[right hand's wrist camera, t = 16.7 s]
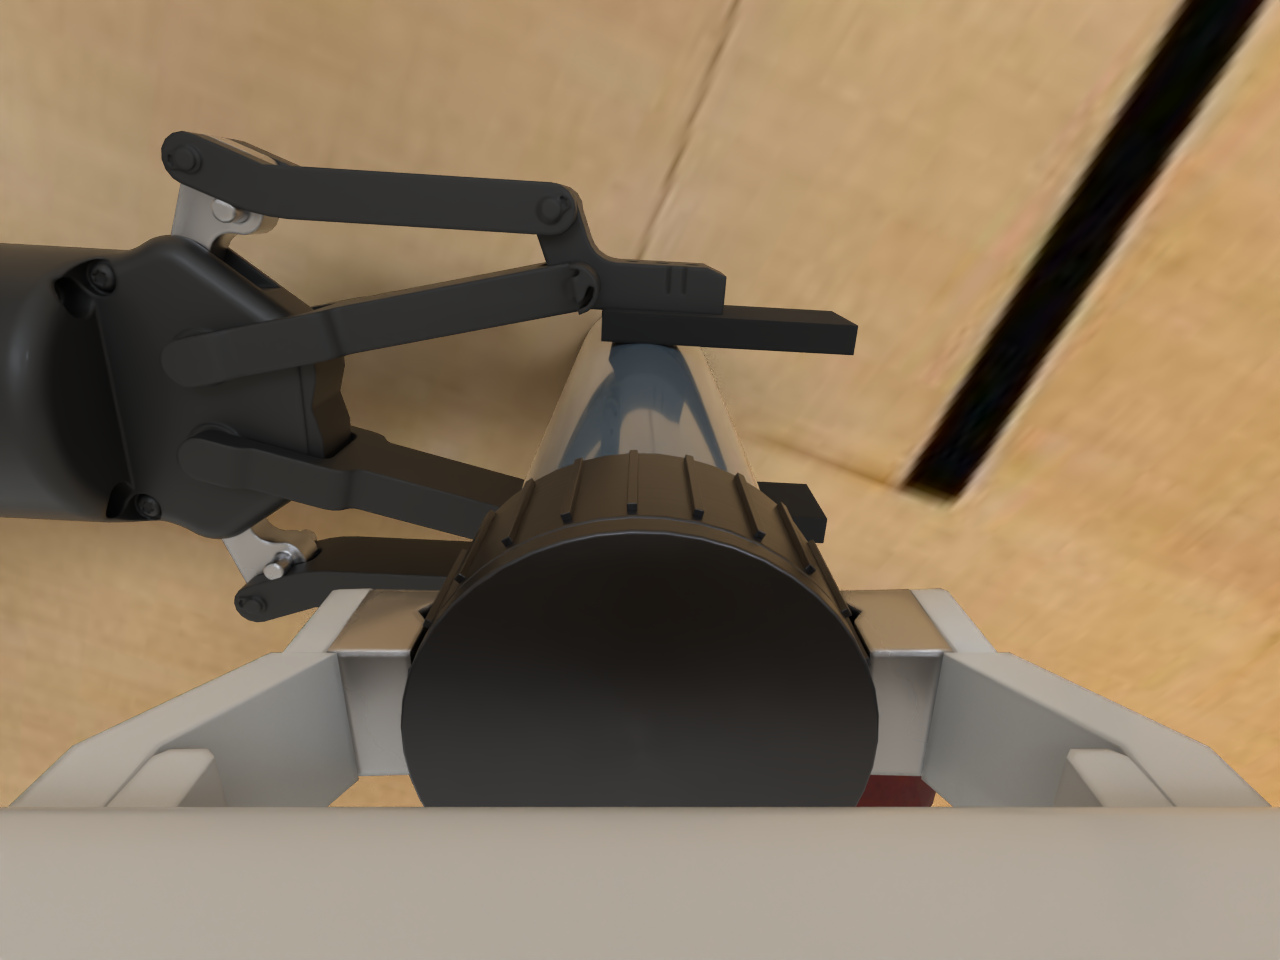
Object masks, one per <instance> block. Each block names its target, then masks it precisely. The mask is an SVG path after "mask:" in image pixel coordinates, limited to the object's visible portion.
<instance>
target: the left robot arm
mask: <svg viewBox="0 0 1280 960" xmlns="http://www.w3.org/2000/svg"><path fill="white" fill-rule="evenodd" d="M161 152H162V161H163V164H164V166H165V169H166V170H167V171H168V173H169V174H170V175H171V176H172V178H173V179H175V180H177V181H178V182H180V183H181V185H180V190H179V195H178V200H177V206H176V211H175V216H174V221H173V227H172V232H171V235H164V236H159V237H155V238H153V239H150V240H148V241H147V242H145V243H144V244H142V245H140V246H139V247H137V248H134V249H132V250H112V249H94V248H77V247H59V246H41V245H24V244H6V243H0V517H10V518H30V519H50V520H71V521H91V522H135V521H152V520H161V521H167V522H171V523H174V524H177V525H180V526H182V527H185V528H187V529H189V530H191V531H193V532H194V533H196V534H198V535H201V536H204V537H207V538H212V539H222V540H223V542H224V544H225V546H226V548H227V549H228V551H229V553H230V555H231V556H232V558H233V560H234V562H235V563H236V565H237V567H238V569H239V570H240V572H241V574H242V576H243V578H244V579H245V581H246V583H247V584H246V585H244V586H243V587H242V588H241V589H240V590H239V591H238V593H237V594H236V596H235V601H234V604H235V607H236V610H237V611H238V612H239V613H240V614H241V616H243V617H244V618H246V619H248V620H250V621H254V622H264V621H268V620H271V619H275V618H278V617H282V616H286V615H289V614H293V613H296V612H300V611H303V610H307V609H310V608H314V607H320V605H321V604H322V603H323V602H324V601H325V599H326V598H327V597H328V596H329V594H330V593H331V592H332V591H333V590H339V589H369V588H371V589H373V590H375V589H389V590H441V588H442V586H443V584H444V582H445V580H446V578H447V576H448V574H449V572H450V570H451V569H452V567H453V565H454V563H455V561H456V559H457V557H458V555H459V553H460V551H461V549H464V550H467V551H468V549H469V548H470V546H471V544H472V542H467V541H445V540H423V539H402V538H380V537H358V536H357V537H336V538H328V539H324V540H319V541H317V537H316V535H315V534H314V532H312V531H310V530H302V531H298V530H289V531H285V530H281V529H278V528H276V527H274V526H273V525H272V524H271V523H269V521H268V520H267V518H266V517H268V516H269V515H271V514H272V513H274V512H275V511H277V510H278V509H280V508H281V507H283V506H284V505H286V504H287V503H289V502H290V501H291V500H292V501H296V502H299V503H303V504H307V505H311V506H315V507H318V508H322V509H327V510H344V509H349V508H355V509H360V510H364V511H368V512H371V513H375V514H379V515H383V516H386V517H390V518H394V519H398V520H402V521H405V522H409V523H413V524H417V525H421V526H424V527H428V528H432V529H436V530H439V531H443V532H447V533H451V534H455V535H458V536H462V537H466V538H470V539H473V540H474V538H475V536H476V534H477V532H478V530H479V528H480V526H481V524H482V522H483V520H484V518H485V516H486V514H487V513H488V512H489V511H490V510H493V511H494V512H496V511H497V510H498V509H499V508H500V507H501V506H502V505H503V504H504V503H505V502H507V501H508V500H509V499H510V498H511V497H512V496H513V495H515V494H516V493H518V492H519V491H520V490H521V488H522V485H523V483H524V481H525V480H523V479H519V478H516V477H512V476H509V475H505V474H501V473H498V472H494V471H490V470H487V469H483V468H479V467H476V466H472V465H469V464H465V463H461V462H458V461H454V460H450V459H447V458H443V457H439V456H436V455H432V454H429V453H425V452H421V451H418V450H414V449H410V448H407V447H403V446H399V445H396V444H392V443H390V442H388V441H387V440H386V439H385V437H384V436H382V435H380V434H378V433H375V432H372V431H368V430H364V429H361V428H357V427H354V426H350V417H349V414H348V412H347V409H346V406H345V403H344V401H343V398H342V395H341V392H340V388H341V383H342V377H343V372H344V367H345V362H344V356H345V355H349V354H353V353H358V352H364V351H369V350H374V349H380V348H385V347H390V346H396V345H401V344H406V343H412V342H417V341H422V340H428V339H433V338H438V337H444V336H449V335H454V334H460V333H465V332H470V331H476V330H481V329H486V328H492V327H497V326H502V325H507V324H513V323H518V322H523V321H529V320H534V319H539V318H545V317H550V316H555V315H561V314H566V313H571V312H577V311H578V312H579V315H580V314H582V313H585V312H587V311H589V310H590V309H599V310H602V329H601V341H603V342H622V343H640V344H658V345H676V346H695V347H713V348H731V349H750V350H768V351H786V352H805V353H823V354H841V355H854V348H855V342H856V336H857V330H858V325H856V324H854V323H852V322H850V321H849V320H847V319H845V318H843V317H841V316H839V315H838V314H836V313H834V312H832V311H819V310H801V309H783V308H765V307H747V306H729V305H724V297H725V286H726V276H725V275H723V274H722V273H721V272H719V271H717V270H715V269H713V268H711V267H709V266H707V265H705V264H702V263H682V262H666V261H649V260H631V259H617V258H612V257H609V256H607V255H605V254H604V253H603V252H601V251H600V250H599V249H598V248H597V246H596V245H595V243H594V241H593V239H592V237H591V233H590V230H589V227H588V224H587V220H586V217H585V214H584V211H583V205H582V200H581V199H580V197H579V195H578V193H577V192H575V191H574V190H573V189H572V188H570V187H567V186H564V185H560V184H557V183H552V182H537V181H521V180H505V179H489V178H473V177H458V176H442V175H426V174H410V173H394V172H379V171H363V170H347V169H331V168H315V167H301V166H298V165H296V164H294V163H292V162H289V161H287V160H285V159H282V158H280V157H278V156H276V155H273V154H271V153H269V152H267V151H264V150H262V149H260V148H257V147H255V146H253V145H251V144H248V143H246V142H243V141H239V140H234V139H228V138H222V137H217V136H210V135H204V134H197V133H191V132H185V131H180V132H175V133H172V134H171V135H169V136H168V137H167V138H166V139H165V141H164V143H163V145H162V148H161ZM279 218H284V219H296V220H312V221H328V222H344V223H361V224H377V225H393V226H409V227H425V228H442V229H458V230H474V231H490V232H506V233H523V234H537V236H538V239H539V242H540V245H541V248H542V251H543V254H544V257H545V260H546V262H545V263H540V264H534V265H529V266H524V267H519V268H514V269H508V270H503V271H498V272H493V273H488V274H482V275H477V276H472V277H467V278H462V279H457V280H451V281H446V282H441V283H436V284H431V285H425V286H420V287H415V288H410V289H405V290H399V291H394V292H389V293H384V294H379V295H374V296H368V297H359V298H354V299H348V300H343V301H338V302H333V303H328V304H322V305H317V306H312V307H309V306H308V305H307V304H305V303H304V302H302V301H301V300H300V299H298V298H297V297H296V296H294V295H293V294H292V293H290V292H289V291H287V290H286V289H285V288H283V287H282V286H281V285H279V284H278V283H277V282H275V281H274V280H272V279H271V278H270V277H268V276H267V275H266V274H264V273H263V272H262V271H260V270H259V269H257V268H256V267H255V266H253V265H252V264H251V263H249V262H248V261H246V260H245V259H244V258H242V257H241V256H240V255H238V254H237V253H236V252H234V251H233V250H231V249H230V248H229V247H228V246H229V244H230V241H231V240H232V239H233V238H234V236H236V235H238V234H240V235H250V234H262V233H267V232H269V231H271V230H272V229H273V228H274V227H275V226H276V224H277V222H278V219H279ZM757 483H758V486H759V488H760V491H761V492H763V493H764V494H765V495H766V496H767V497H769V498H770V499H771V500H772V501H774V502H775V503H776V504H777V505H778V504H779V503H780V502H782V503H783V504H784V505H785V506H786V507H787V509H788V511H789V513H790V516H791V518H792V520H793V522H794V523H795V524H796V526H797V527H798V529H799V530H800V531H801V533H802V534H803V536H804V537H805V539H806V540H807V542H809V541H811V540H814V542H815V543H823V542H824V536H825V529H826V523H827V518H826V516H825V515H824V513H823V511H822V509H821V508H820V506H819V504H818V503H817V501H816V499H815V498H814V496H813V494H812V493H811V491H810V489H809V488H808V486H807V484H793V483H773V482H757Z"/></svg>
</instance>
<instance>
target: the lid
mask: <svg viewBox="0 0 1280 960" xmlns="http://www.w3.org/2000/svg"><path fill="white" fill-rule="evenodd" d="M851 615H852V614H851V612H850V610H849V608H848V606H847V604H846V602H845V600H844V598H843V596H842V594H841V592H840V590H839V588H838V586H837V584H836V582H835V580H834V579H833V577H832V575H831V573H830V571H829V569H828V567H827V565H826V563H825V561H824V559H823V557H822V555H821V553H820V551H819V549H818V547H817V545H816V544H815V542H814V540H811V541H809V542H807V540H806V539H805V537H804V536H803V534H802V533H801V531H800V530H799V529H798V527H797V526H796V524H795V523H794V522H793V520H792V518H791V516H790V513H789V511H788V509H787V507H786V506H785V505H784V504H783V503H782V502H780V503H779V504H778V505H777V504H776V503H775V502H774V501H772V500H771V499H770V498H769V497H767V496H766V495H765V494H764V493H763V492H761V491H760V490H759V489H757V488H756V487H754V486H752V485H751V484H749V483H747V482H746V479H745V477H744V475H742V474H740V473H737V474H736V475H733V474H731V473H729V472H726V471H724V470H722V469H719V468H717V467H715V466H712V465H709V464H706V463H702V462H699V461H695V460H694V457H693V456H690V455H685V458H683V457H677V456H671V455H664V454H648V453H638V450H630V451H629V453H628V454H617V455H607V456H602V457H598V458H593V459H588V460H583V458H578V459H575V461H574V464H571V465H569V466H566V467H563V468H560V469H557V470H555V471H553V472H551V473H549V474H547V475H545V476H543V477H541V478H539V479H537V480H535V481H534V480H533V478H531V479H529V480H527V481H526V482H525V484H524V487H523V489H522V490H520V491H519V492H518V493H516V494H515V495H513V496H512V497H511V498H510V499H509V500H508V501H507V502H505V503H504V504H503V505H502V506H501V507H500V508H499V509H498V510H497V511H496V512H494V511H493V510H490V511H489V512H488V513H487V514H486V516H485V518H484V520H483V522H482V524H481V526H480V528H479V530H478V532H477V534H476V536H475V538H474V540H473V542H472V544H471V546H470V548H469V549H468V551H467V550H464V549H461V551H460V553H459V555H458V557H457V559H456V561H455V563H454V565H453V567H452V569H451V570H450V572H449V574H448V576H447V578H446V580H445V582H444V584H443V586H442V588H441V590H440V592H439V593H438V595H437V597H436V599H435V601H434V603H433V605H432V607H431V609H430V611H429V613H428V615H427V616H426V618H425V620H424V622H423V624H422V626H424V627H426V628H429V629H428V631H427V633H426V635H425V637H424V639H423V641H422V642H421V644H420V646H419V648H418V651H417V653H416V656H415V658H414V661H413V663H412V665H411V668H409V669H408V675H407V681H406V685H405V689H404V694H403V698H402V709H401V735H402V745H403V753H404V757H405V761H406V764H407V768H408V772H409V776H410V778H411V781H412V783H413V785H414V788H415V790H416V792H417V794H418V797H419V799H420V801H421V802H422V804H423V806H424V807H856V806H857V804H858V802H859V800H860V798H861V796H862V794H863V793H864V791H865V788H866V785H867V783H868V780H869V777H870V774H871V771H872V769H873V765H874V760H875V755H876V749H877V744H878V731H879V711H878V704H877V696H876V689H875V686H874V682H873V679H872V676H871V673H870V669H869V665H870V660H869V657H868V655H867V653H866V651H865V649H864V647H863V645H862V643H861V641H860V639H859V637H858V635H857V633H856V631H855V629H854V627H853V625H852V623H851V621H850V619H849V616H851Z"/></svg>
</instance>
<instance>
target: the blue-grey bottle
mask: <svg viewBox="0 0 1280 960" xmlns="http://www.w3.org/2000/svg"><path fill="white" fill-rule="evenodd" d="M601 329H602V317H601V318H600V319H599V320H598V321H597V322H596V323H595V324H594V325H593V326H592V328H591V329H590V330H589V332H588V334H587V335H586V337H585V339H584V341H583V344H582V346H581V348H580V351H579V353H578V356H577V358H576V360H575V363H574V365H573V367H572V370H571V372H570V374H569V377H568V379H567V381H566V384H565V386H564V389H563V391H562V393H561V396H560V398H559V400H558V403H557V405H556V407H555V410H554V412H553V415H552V417H551V419H550V422H549V424H548V426H547V429H546V431H545V433H544V436H543V438H542V440H541V443H540V445H539V448H538V450H537V452H536V455H535V457H534V459H533V462H532V464H531V466H530V469H529V471H528V473H527V476H526V478H525V481H524V483H523V485H522V488H521V490H522V489H523V487H524V484H525V482H526V481H527V480H529V479H531V478H533V480H534V481H535V480H537V479H539V478H541V477H543V476H545V475H547V474H549V473H551V472H553V471H555V470H557V469H560V468H563V467H566V466H569V465H571V464H574V461H575V459H578V458H583V460H588V459H593V458H598V457H602V456H607V455H617V454H628V453H629V451H630V450H638V453H648V454H664V455H671V456H677V457H683V458H685V455H690V456H693V457H694V460H695V461H699V462H702V463H706V464H709V465H712V466H715V467H717V468H719V469H722V470H724V471H726V472H729V473H731V474H733V475H736V474H737V473H740V474H742V475H744V477H745V479H746V482H747V483H749V484H751V485H752V486H754V487H756V488H757V489H759V490H760V488H759V486H758V483H757V481H756V479H755V476H754V474H753V471H752V469H751V467H750V464H749V462H748V459H747V457H746V455H745V452H744V450H743V447H742V445H741V443H740V440H739V438H738V435H737V433H736V431H735V428H734V426H733V423H732V421H731V419H730V416H729V414H728V411H727V409H726V407H725V404H724V402H723V399H722V397H721V395H720V392H719V390H718V387H717V385H716V383H715V380H714V378H713V375H712V373H711V371H710V368H709V366H708V363H707V361H706V359H705V356H704V354H703V351H702V349H701V347H695V346H676V345H658V344H640V343H622V342H603V341H601Z"/></svg>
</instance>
